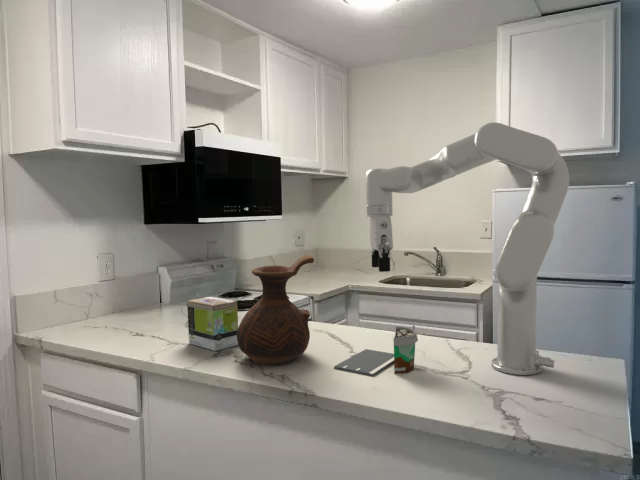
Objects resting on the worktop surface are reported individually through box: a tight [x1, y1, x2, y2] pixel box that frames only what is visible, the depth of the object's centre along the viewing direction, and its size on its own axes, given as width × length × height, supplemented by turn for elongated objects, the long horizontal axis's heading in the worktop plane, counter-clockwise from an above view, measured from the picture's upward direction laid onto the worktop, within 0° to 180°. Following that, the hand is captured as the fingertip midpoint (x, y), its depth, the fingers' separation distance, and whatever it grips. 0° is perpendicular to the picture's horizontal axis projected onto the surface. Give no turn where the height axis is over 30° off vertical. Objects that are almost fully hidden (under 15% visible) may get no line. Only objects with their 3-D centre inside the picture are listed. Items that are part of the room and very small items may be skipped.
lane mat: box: [333, 348, 394, 377], centre depth 137 cm, size 12×18×1 cm, turn 146°
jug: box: [237, 254, 315, 366], centre depth 142 cm, size 22×22×30 cm
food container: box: [393, 326, 419, 375], centre depth 131 cm, size 12×6×10 cm, turn 168°
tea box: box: [186, 296, 239, 352], centre depth 159 cm, size 15×10×15 cm
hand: (380, 269), depth 143 cm, fingers open, 9 cm apart
